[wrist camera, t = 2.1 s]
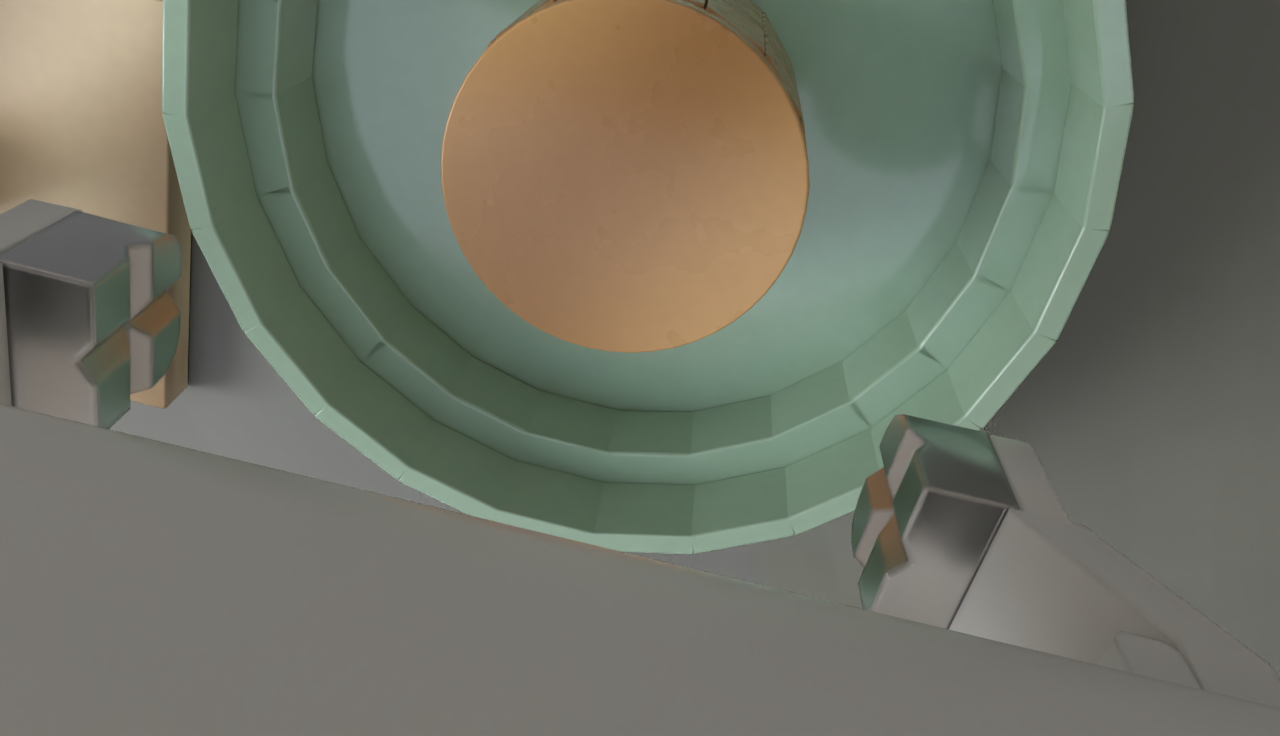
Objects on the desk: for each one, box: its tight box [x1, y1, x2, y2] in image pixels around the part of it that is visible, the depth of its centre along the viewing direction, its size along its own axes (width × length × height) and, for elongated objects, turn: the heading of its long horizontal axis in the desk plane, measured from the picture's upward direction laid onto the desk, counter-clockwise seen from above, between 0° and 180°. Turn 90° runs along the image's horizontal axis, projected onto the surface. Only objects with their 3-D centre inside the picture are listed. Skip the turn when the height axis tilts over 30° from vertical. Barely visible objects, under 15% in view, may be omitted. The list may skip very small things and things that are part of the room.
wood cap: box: [441, 0, 810, 353], centre depth 20 cm, size 6×6×5 cm
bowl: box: [162, 0, 1135, 554], centre depth 20 cm, size 17×17×4 cm
